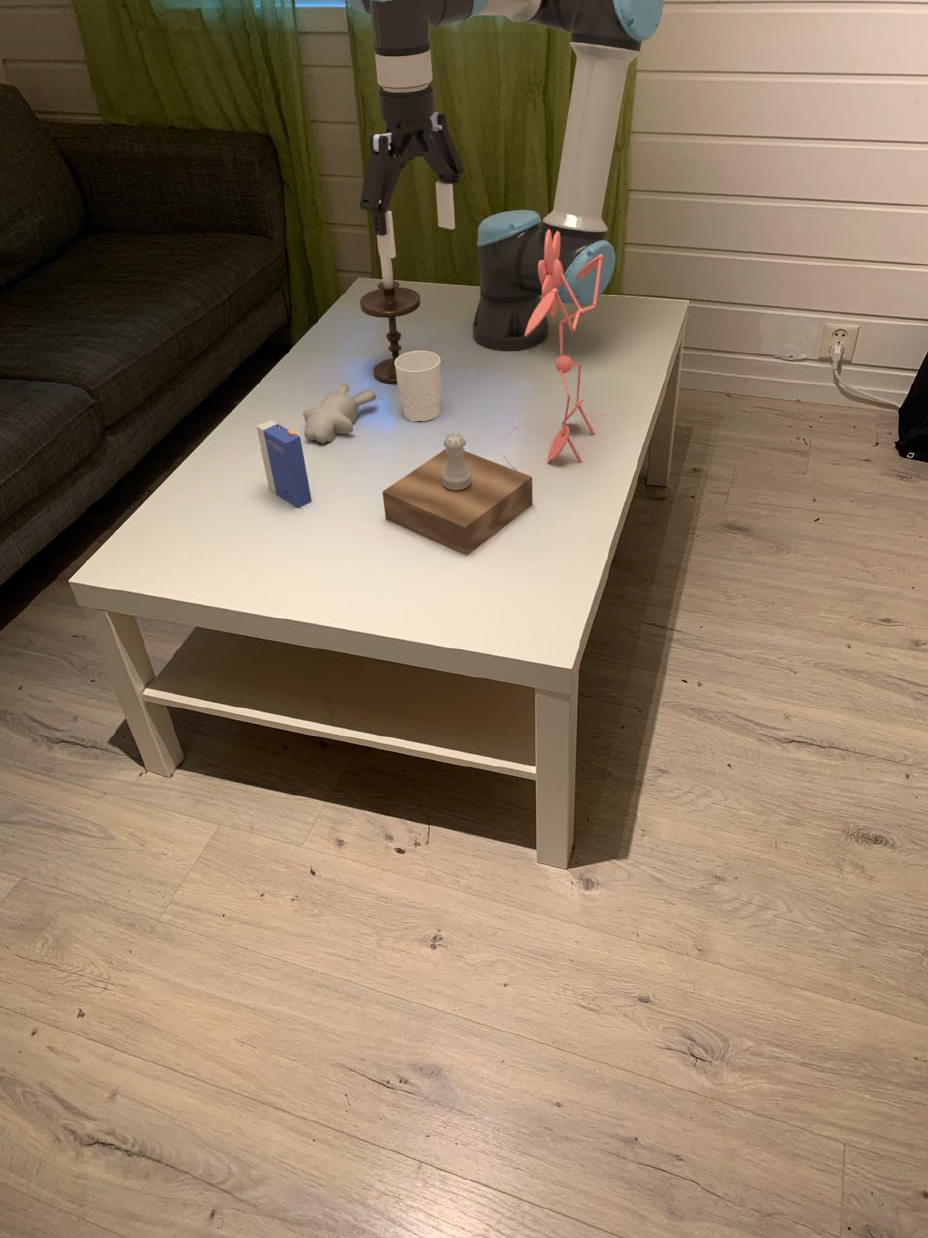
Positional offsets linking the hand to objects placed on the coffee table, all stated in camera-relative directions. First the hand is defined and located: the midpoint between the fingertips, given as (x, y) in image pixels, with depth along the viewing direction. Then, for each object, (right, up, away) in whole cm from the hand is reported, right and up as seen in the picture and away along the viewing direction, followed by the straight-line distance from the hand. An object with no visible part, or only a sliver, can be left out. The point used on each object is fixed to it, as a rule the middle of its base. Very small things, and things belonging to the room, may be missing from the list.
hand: (417, 241), depth 151 cm
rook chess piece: (+6, -37, -1) cm, 37 cm away
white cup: (0, -21, +27) cm, 34 cm away
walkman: (-21, -37, +8) cm, 44 cm away
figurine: (+21, -28, +17) cm, 39 cm away
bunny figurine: (-15, -23, +25) cm, 37 cm away
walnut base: (+6, -40, +3) cm, 41 cm away
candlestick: (-6, -10, +39) cm, 41 cm away
